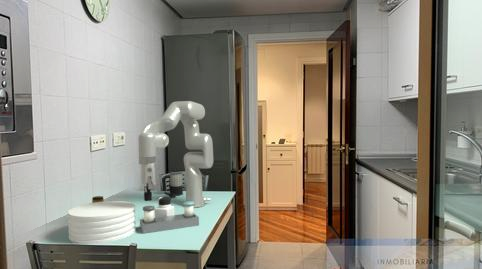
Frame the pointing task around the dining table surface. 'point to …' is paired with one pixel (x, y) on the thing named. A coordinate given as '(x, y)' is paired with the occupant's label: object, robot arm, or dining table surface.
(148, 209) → the knob
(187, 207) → the knob
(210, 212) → the dining table surface
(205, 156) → the robot arm
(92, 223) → the plate stack
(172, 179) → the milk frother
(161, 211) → the medicine bottle
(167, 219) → the mount
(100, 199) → the condiment
